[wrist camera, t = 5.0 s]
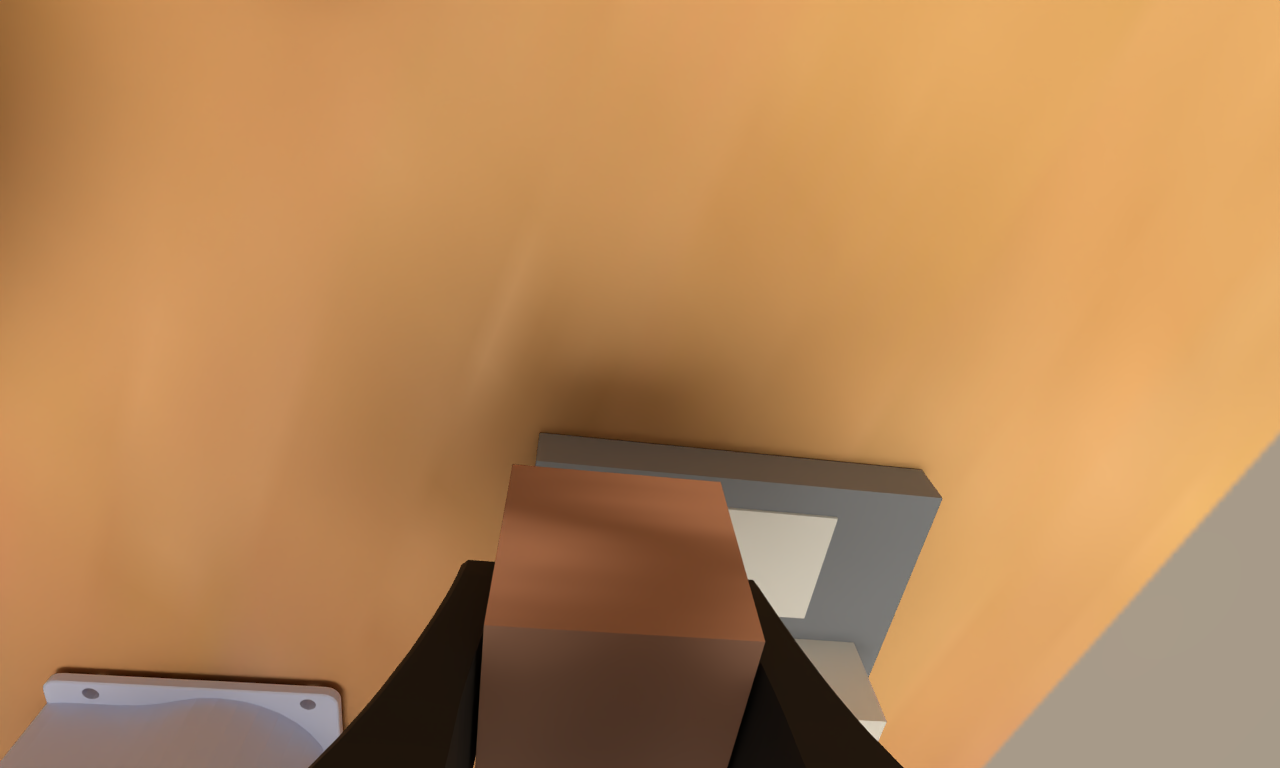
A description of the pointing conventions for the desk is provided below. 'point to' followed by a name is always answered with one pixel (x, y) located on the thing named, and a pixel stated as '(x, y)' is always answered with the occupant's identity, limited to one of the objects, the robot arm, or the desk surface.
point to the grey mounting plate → (796, 527)
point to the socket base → (847, 680)
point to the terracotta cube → (615, 625)
